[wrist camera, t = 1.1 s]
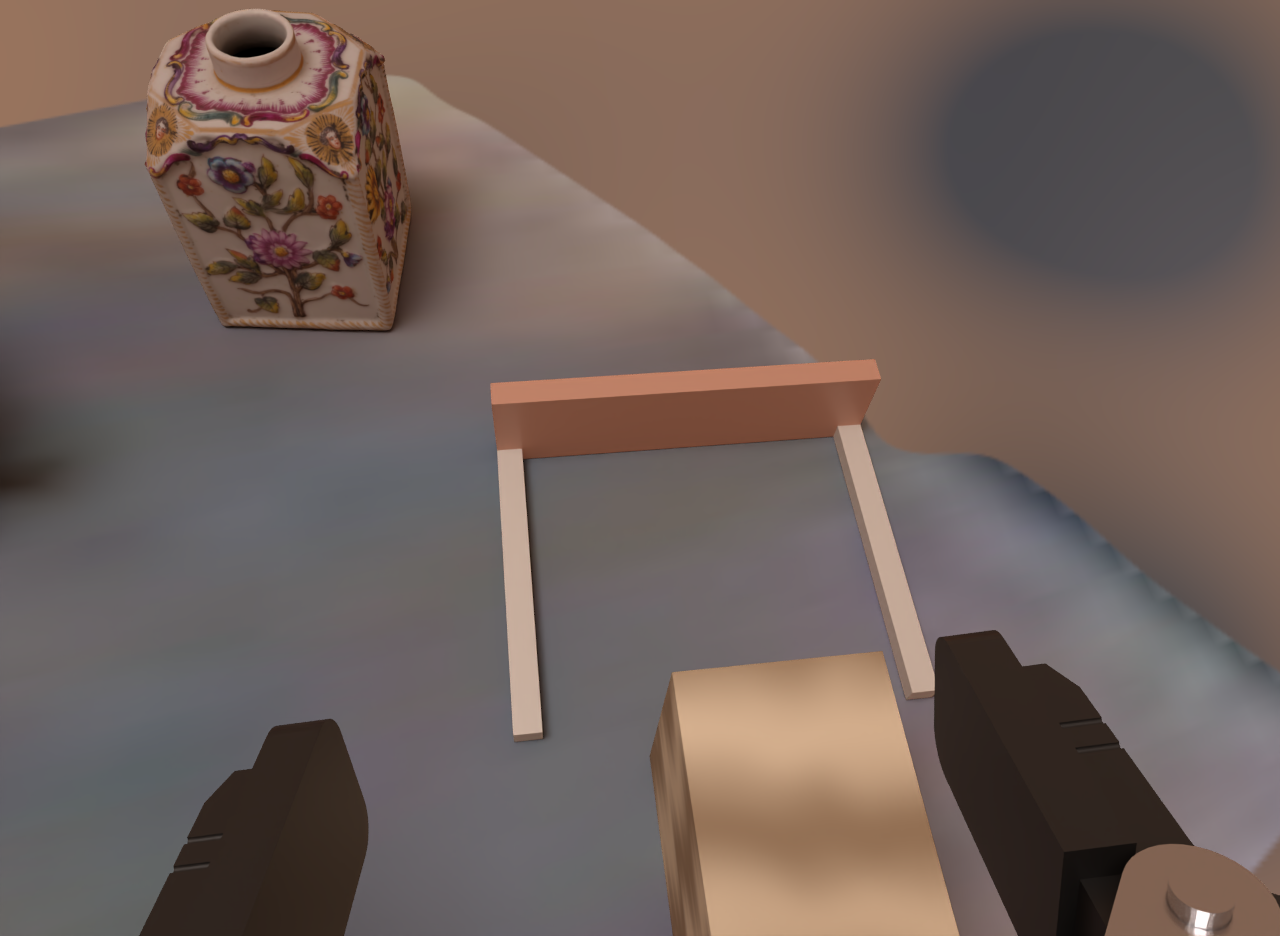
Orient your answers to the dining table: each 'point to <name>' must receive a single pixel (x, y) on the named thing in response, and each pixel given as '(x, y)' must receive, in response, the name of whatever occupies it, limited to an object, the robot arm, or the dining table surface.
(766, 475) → the dining table surface
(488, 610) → the dining table surface
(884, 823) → the wooden block
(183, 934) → the robot arm
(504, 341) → the dining table surface
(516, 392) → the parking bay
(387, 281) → the decorative jar
